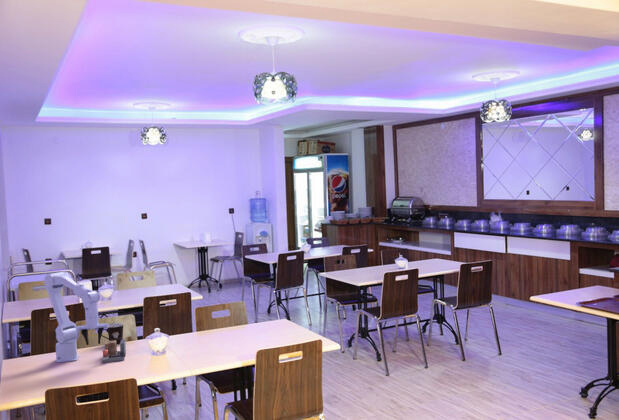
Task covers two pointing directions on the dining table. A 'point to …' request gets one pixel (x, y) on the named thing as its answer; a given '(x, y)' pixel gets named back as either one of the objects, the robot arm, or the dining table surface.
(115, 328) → the coffee mug
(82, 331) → the robot arm
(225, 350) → the dining table surface
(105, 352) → the lever
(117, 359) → the press bed
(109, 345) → the housing block
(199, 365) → the dining table surface
